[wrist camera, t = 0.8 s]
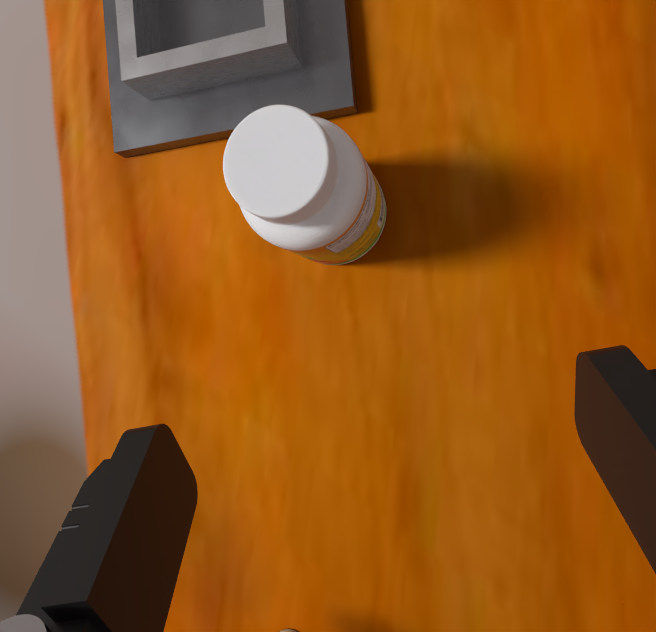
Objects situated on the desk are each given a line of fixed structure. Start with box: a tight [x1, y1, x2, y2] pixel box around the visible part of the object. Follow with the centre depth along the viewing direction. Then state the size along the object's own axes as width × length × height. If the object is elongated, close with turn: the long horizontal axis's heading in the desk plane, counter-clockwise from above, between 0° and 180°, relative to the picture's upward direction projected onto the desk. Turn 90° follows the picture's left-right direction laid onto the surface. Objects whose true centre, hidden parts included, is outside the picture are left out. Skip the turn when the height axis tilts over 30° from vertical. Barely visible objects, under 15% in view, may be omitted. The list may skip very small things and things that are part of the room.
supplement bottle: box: [223, 105, 386, 265], centre depth 23 cm, size 5×5×10 cm
